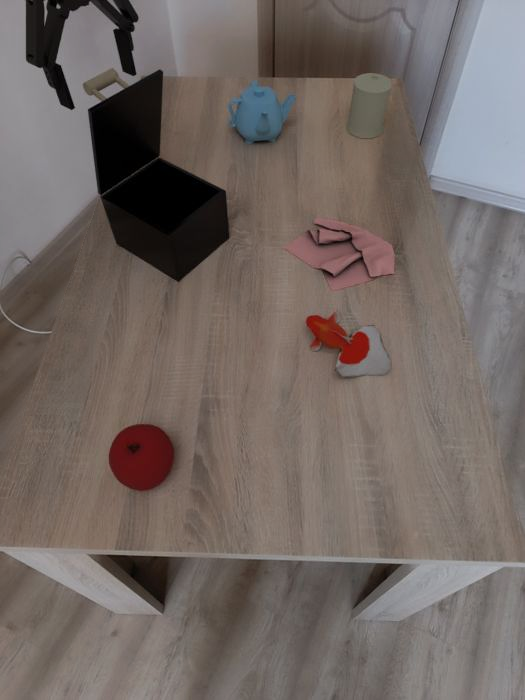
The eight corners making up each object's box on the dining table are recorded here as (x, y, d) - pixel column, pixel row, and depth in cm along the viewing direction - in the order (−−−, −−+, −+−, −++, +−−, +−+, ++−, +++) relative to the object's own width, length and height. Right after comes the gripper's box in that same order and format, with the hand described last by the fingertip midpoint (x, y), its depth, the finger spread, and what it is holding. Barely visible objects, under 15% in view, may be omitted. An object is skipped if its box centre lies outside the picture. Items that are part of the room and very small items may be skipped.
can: (384, 121, 124) (395, 73, 114) (379, 141, 119) (390, 92, 109) (349, 116, 125) (357, 68, 115) (343, 135, 120) (350, 87, 110)
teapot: (300, 132, 121) (303, 87, 112) (265, 157, 115) (265, 111, 106) (254, 112, 127) (253, 67, 117) (219, 134, 121) (215, 89, 111)
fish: (339, 291, 85) (351, 281, 75) (394, 360, 84) (413, 359, 74) (292, 329, 84) (297, 323, 74) (347, 398, 84) (360, 402, 74)
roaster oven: (229, 238, 99) (226, 190, 89) (178, 282, 92) (168, 236, 82) (168, 204, 105) (158, 156, 95) (116, 243, 98) (100, 196, 88)
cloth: (408, 278, 93) (412, 270, 91) (300, 296, 90) (301, 287, 88) (373, 211, 104) (375, 202, 102) (276, 225, 101) (276, 216, 99)
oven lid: (163, 71, 79) (131, 46, 79) (91, 112, 72) (56, 83, 72) (160, 156, 95) (133, 134, 96) (100, 195, 88) (72, 172, 89)
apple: (185, 485, 70) (175, 460, 61) (124, 507, 68) (105, 484, 60) (170, 431, 74) (158, 400, 66) (112, 450, 73) (93, 421, 64)
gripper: (-12, -43, 55) (54, 130, 73) (142, -94, 66) (168, 66, 84) (-49, -57, 58) (24, 114, 75) (106, -103, 69) (138, 54, 86)
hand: (100, 89), depth 80 cm, fingers open, 13 cm apart
